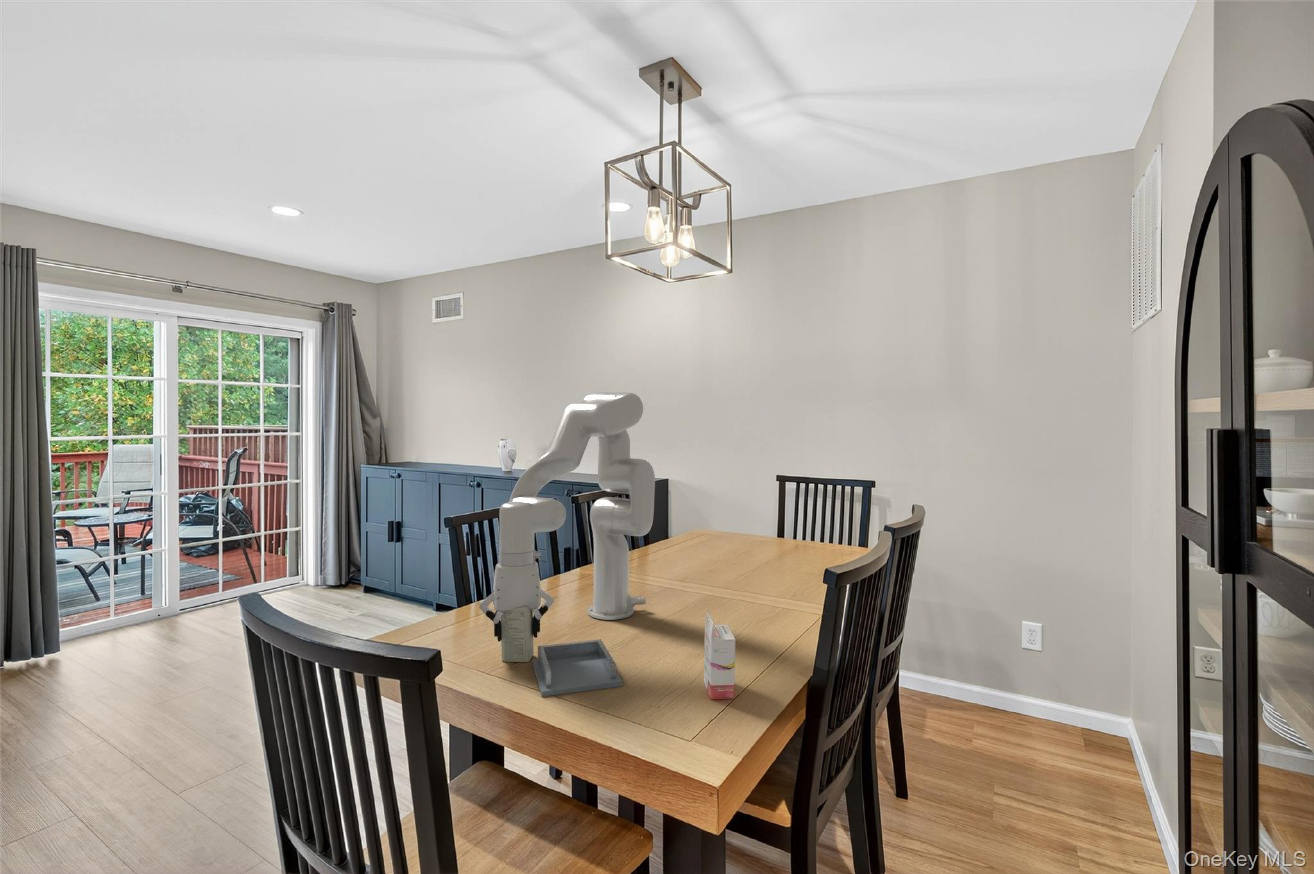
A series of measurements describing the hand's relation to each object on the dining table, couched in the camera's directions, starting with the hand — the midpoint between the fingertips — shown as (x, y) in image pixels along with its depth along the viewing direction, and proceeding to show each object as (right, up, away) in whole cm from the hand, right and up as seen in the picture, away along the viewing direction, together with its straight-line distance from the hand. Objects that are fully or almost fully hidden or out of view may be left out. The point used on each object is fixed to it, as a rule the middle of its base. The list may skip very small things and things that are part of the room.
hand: (517, 636), depth 136 cm
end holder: (+14, -5, -8) cm, 17 cm away
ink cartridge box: (+43, -6, -14) cm, 46 cm away
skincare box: (0, -5, 0) cm, 5 cm away
